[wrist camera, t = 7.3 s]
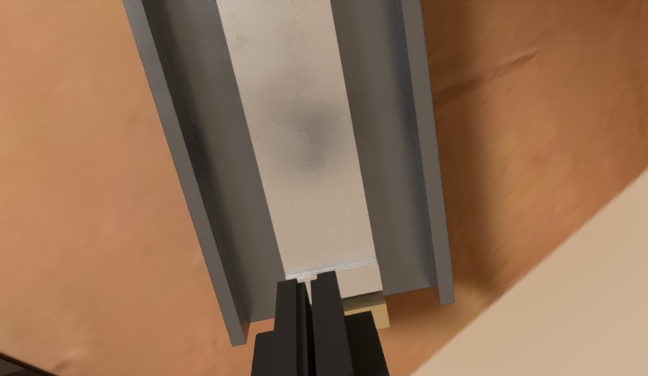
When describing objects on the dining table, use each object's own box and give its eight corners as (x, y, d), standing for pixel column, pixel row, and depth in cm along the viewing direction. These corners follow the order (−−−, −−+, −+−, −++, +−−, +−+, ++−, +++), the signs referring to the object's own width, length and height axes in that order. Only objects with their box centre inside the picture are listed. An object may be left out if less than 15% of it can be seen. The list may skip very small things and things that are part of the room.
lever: (203, -69, 20) (193, -82, 18) (311, -92, 20) (311, -107, 18) (292, 290, 25) (291, 308, 23) (377, 273, 25) (382, 289, 23)
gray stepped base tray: (132, -57, 23) (65, -99, 17) (387, -112, 23) (421, -175, 17) (237, 292, 30) (218, 360, 24) (434, 252, 30) (471, 310, 23)
